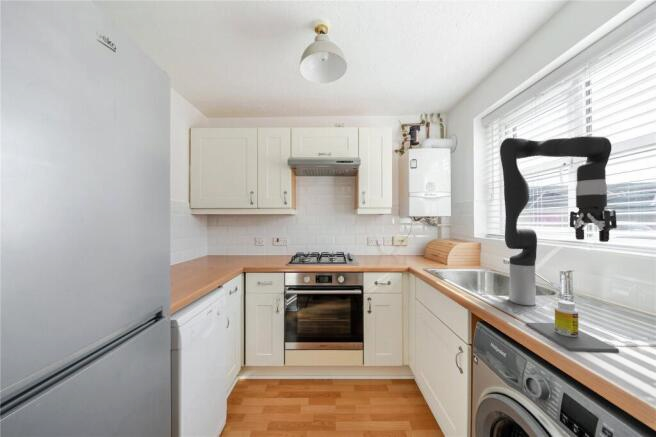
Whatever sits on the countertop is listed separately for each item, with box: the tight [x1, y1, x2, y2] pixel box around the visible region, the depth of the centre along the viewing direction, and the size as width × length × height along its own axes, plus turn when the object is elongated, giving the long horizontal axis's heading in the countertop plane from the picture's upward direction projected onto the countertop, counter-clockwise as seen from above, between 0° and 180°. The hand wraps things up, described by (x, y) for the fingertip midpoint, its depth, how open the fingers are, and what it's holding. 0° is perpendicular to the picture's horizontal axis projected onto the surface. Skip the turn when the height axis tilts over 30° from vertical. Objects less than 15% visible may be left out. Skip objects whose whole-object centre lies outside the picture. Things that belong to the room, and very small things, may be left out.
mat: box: [525, 322, 620, 353], centre depth 82 cm, size 18×13×1 cm
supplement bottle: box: [554, 300, 579, 337], centre depth 82 cm, size 6×6×10 cm
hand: (591, 240), depth 89 cm, fingers open, 8 cm apart
